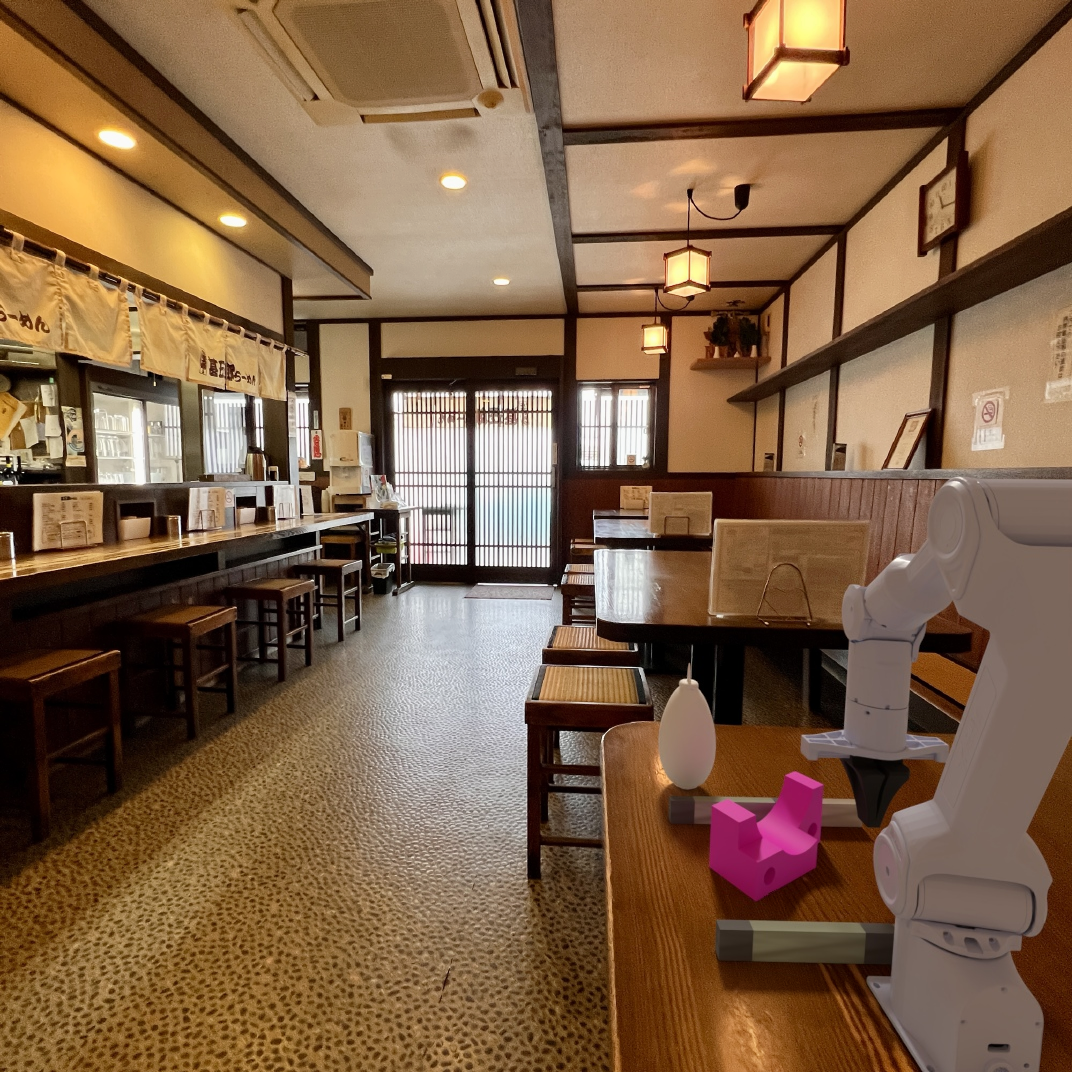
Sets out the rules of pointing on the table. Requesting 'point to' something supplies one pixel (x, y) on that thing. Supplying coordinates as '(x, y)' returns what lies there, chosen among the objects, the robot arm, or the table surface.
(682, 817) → the trap lane
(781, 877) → the toy block
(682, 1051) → the table surface
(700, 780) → the sauce bottle
